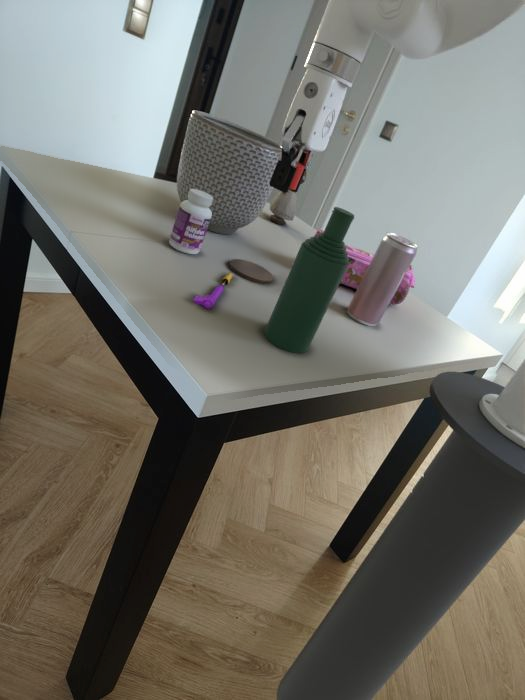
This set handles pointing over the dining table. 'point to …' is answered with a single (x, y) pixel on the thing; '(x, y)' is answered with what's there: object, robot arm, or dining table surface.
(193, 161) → the planter
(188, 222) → the pill bottle
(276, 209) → the figurine
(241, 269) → the coaster
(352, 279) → the pencil case
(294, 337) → the bottle
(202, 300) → the purple tool
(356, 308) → the beverage can
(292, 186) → the cap
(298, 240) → the dining table surface
